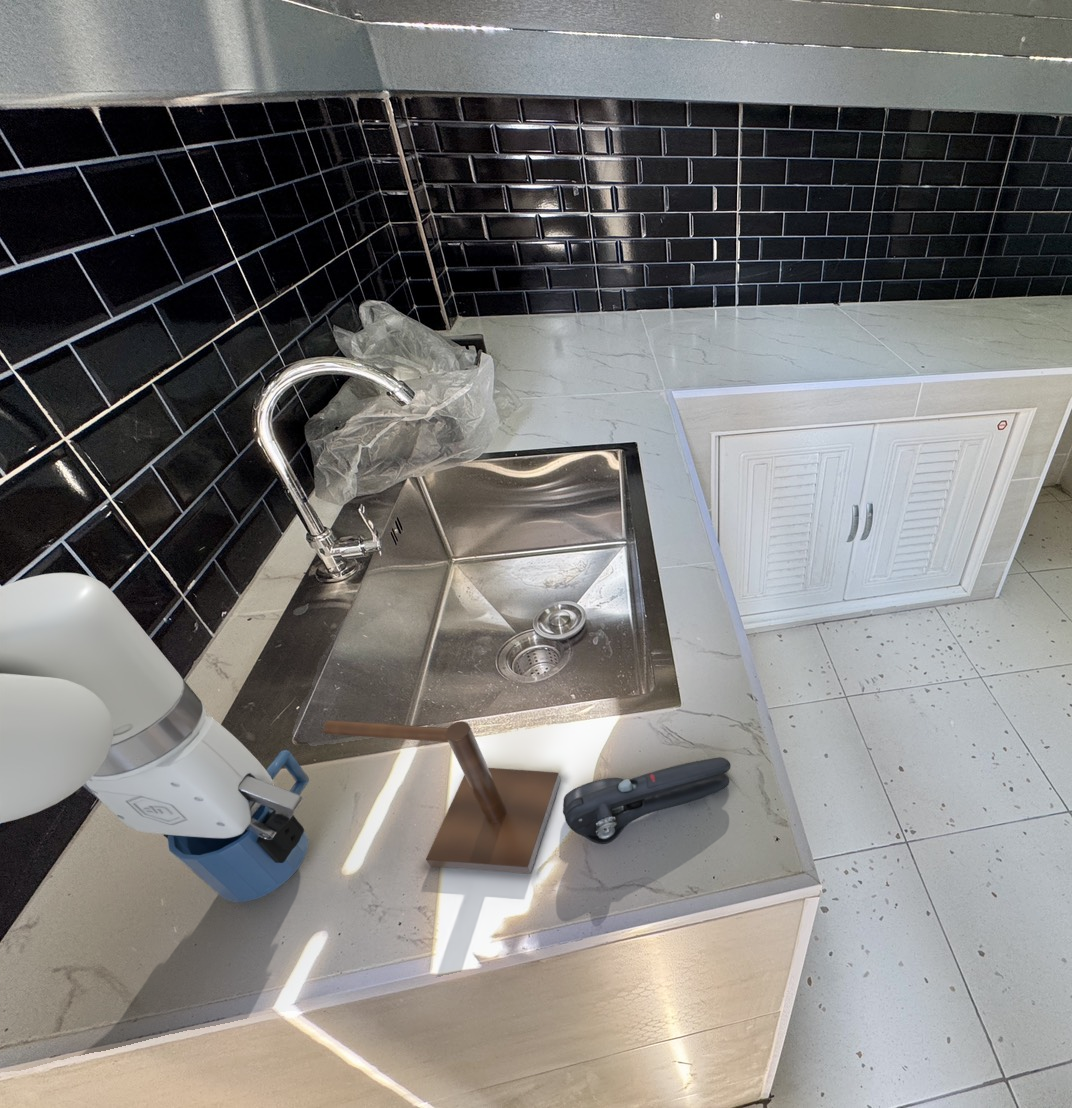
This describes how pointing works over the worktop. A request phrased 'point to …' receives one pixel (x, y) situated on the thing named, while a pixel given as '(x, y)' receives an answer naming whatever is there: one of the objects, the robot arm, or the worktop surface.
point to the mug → (243, 851)
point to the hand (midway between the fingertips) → (247, 842)
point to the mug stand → (478, 802)
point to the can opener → (639, 797)
